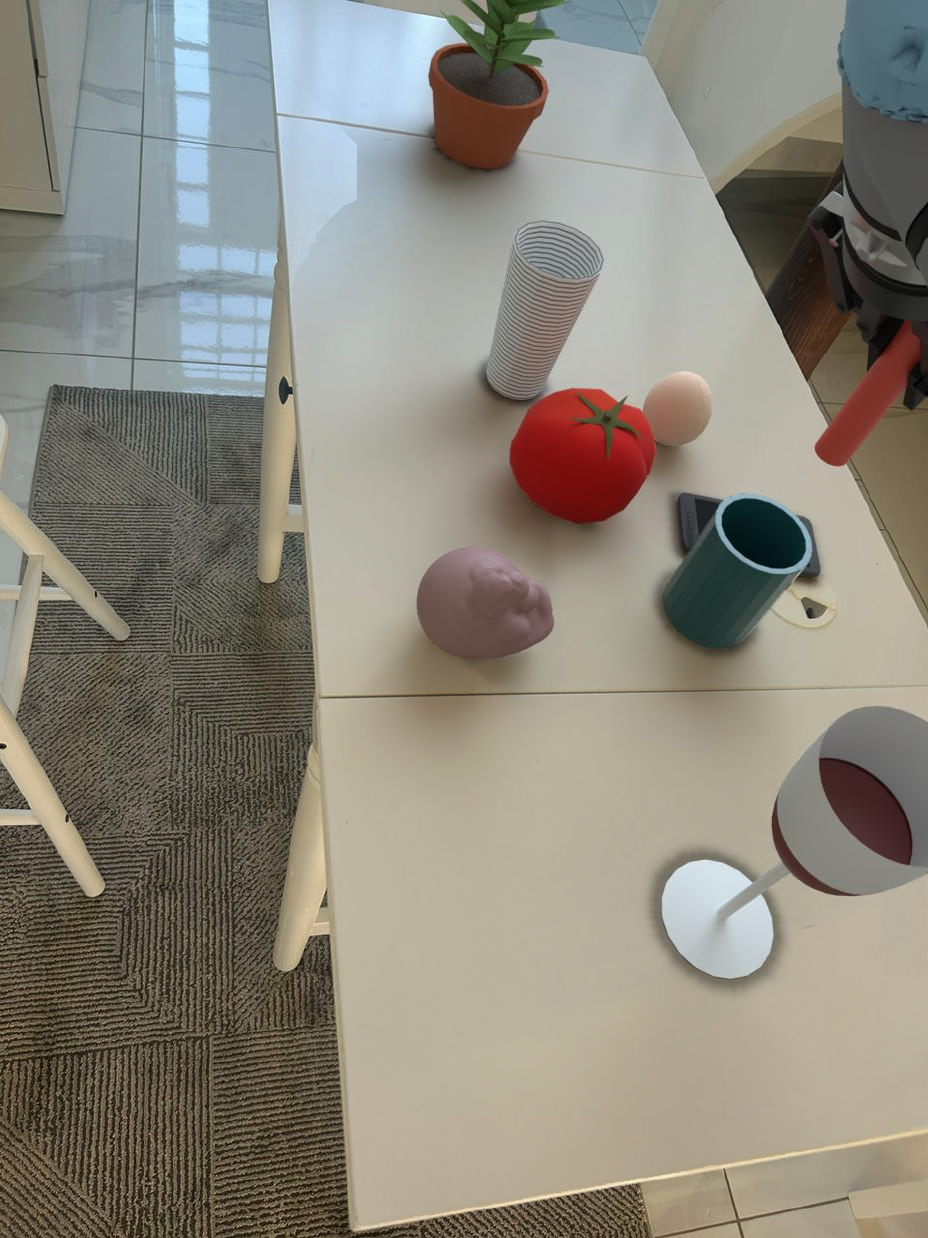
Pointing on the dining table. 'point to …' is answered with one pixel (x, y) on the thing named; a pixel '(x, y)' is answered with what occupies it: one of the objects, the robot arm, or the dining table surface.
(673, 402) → the egg
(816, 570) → the cell phone
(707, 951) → the wineglass
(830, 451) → the red round dowel
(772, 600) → the teal pencil holder
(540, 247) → the cup
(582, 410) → the tomato
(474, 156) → the potted plant
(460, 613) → the figurine
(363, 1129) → the dining table surface
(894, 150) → the robot arm
